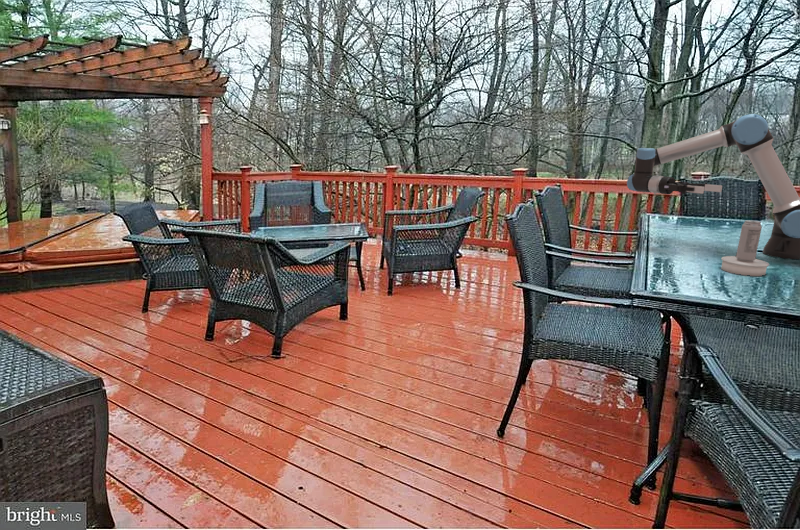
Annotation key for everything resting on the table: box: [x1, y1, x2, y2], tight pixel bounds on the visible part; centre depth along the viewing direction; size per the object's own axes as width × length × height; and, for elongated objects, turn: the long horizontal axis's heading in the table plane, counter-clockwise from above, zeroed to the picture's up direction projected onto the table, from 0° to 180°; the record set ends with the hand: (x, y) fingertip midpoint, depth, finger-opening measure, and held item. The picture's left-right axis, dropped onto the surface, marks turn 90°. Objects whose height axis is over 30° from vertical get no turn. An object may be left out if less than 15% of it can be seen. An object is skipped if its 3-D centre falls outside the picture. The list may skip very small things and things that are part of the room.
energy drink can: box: [735, 219, 763, 262], centre depth 188 cm, size 6×6×15 cm
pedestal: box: [720, 255, 770, 277], centre depth 190 cm, size 15×15×4 cm
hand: (712, 189), depth 203 cm, fingers open, 13 cm apart
